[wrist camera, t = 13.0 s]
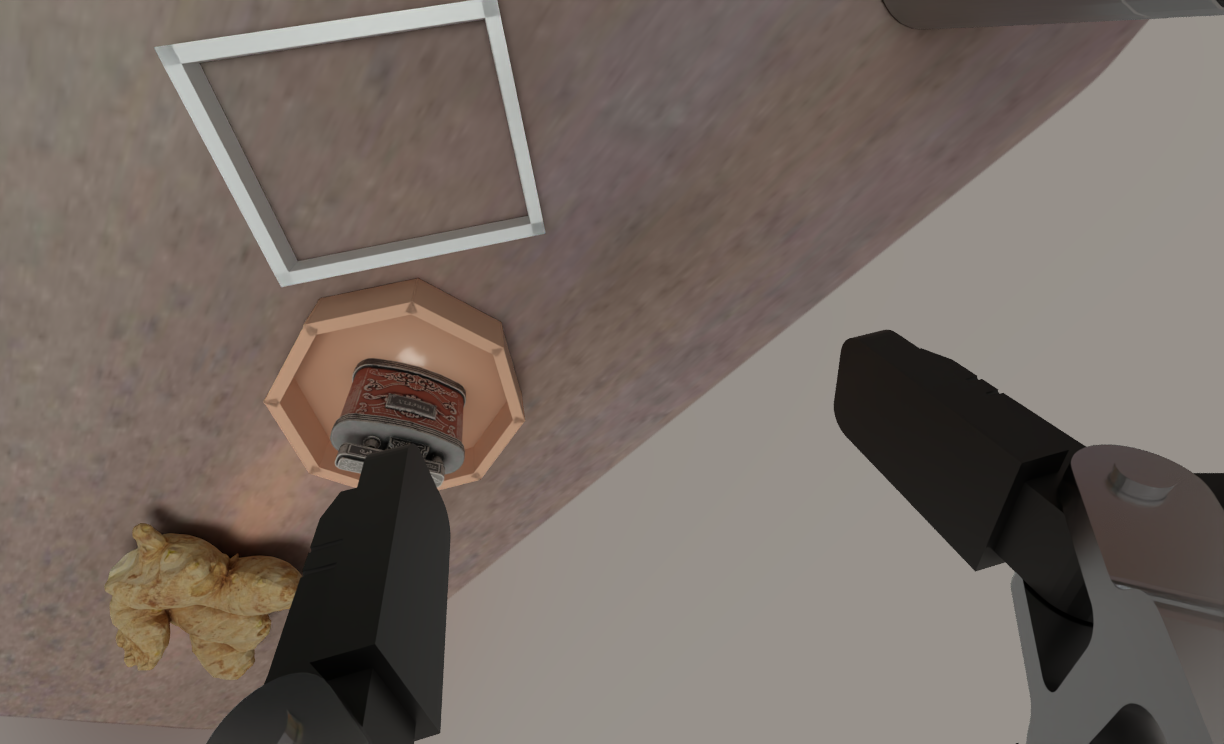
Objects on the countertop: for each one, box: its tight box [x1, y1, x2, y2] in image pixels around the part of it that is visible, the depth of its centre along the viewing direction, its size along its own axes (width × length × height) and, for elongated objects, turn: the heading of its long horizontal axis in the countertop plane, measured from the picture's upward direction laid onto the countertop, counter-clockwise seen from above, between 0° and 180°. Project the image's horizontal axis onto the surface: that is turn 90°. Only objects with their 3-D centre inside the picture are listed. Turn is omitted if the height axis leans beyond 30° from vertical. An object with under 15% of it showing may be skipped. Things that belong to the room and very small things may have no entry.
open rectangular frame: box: [154, 0, 546, 287], centre depth 30 cm, size 17×13×2 cm
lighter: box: [330, 358, 466, 488], centre depth 34 cm, size 8×3×10 cm, turn 62°
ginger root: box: [104, 523, 302, 680], centre depth 42 cm, size 16×16×8 cm
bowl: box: [264, 278, 525, 490], centre depth 37 cm, size 16×16×4 cm
